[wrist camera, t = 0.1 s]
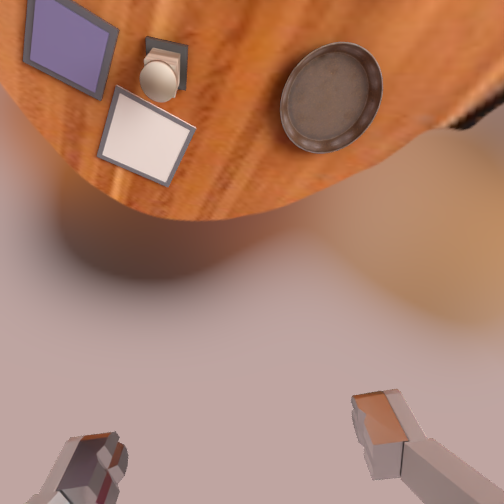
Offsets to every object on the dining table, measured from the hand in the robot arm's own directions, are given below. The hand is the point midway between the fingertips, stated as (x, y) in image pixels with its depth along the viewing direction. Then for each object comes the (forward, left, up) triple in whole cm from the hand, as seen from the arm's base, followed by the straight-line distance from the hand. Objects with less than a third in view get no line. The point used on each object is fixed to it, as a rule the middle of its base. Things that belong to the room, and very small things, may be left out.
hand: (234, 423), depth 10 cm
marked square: (+18, -6, -52) cm, 55 cm away
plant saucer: (-5, +19, -52) cm, 56 cm away
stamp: (+4, -7, -52) cm, 53 cm away
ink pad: (+9, -20, -52) cm, 56 cm away
